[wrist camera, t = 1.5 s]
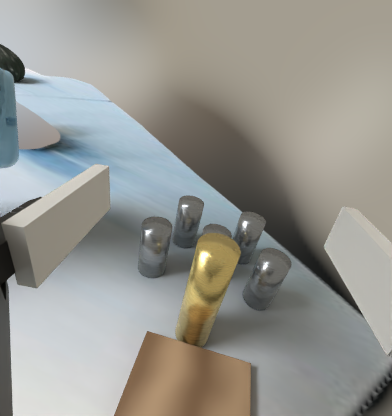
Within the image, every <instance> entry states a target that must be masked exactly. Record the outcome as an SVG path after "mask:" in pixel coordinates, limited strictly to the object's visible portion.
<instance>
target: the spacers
mask: <svg viewBox="0 0 392 416" xmlns="http://www.w3.org/2000/svg"><path fill="white" fill-rule="evenodd" d="M203 207H204V202H203V201H202V200H201V199H199V198H197V197H194V196H183V197H181V198H180V200H179V205H178V210H177V216H176V222H175V227H174V233H173V239H172V240H173V242H174V244H175V245H177V246H178V247H181V248H190V247H192V246H193V245H194V244H195V240H196V236H197V232H198V227H199V223H200V219H201V215H202V211H203ZM265 224H266V221H265V220H264V218H263V217H262V216H260V215H259V214H257V213H254V212H243V213H242V214H241V216H240V219H239V222H238V225H237V227H236V230H235V233H234V236H233V240H234V241H235V242H236V243H237V244H238V246H239V248H240V251H241V254H240V257H239V260H238V262H237V263H238V264H247V263H249V261H250V259H251V257H252V255H253V252H254V250H255V247H256V245H257V243H258V240H259V238H260V236H261V233H262V231H263V229H264V226H265ZM171 232H172V224H171V223H170V222H169V221H168V220H167V219H165V218H162V217H150V218H147V219H145V220H144V221H143V223H142V230H141V241H140V253H139V264H138V270H139V272H140V273H141V274H142V275H143V276H145V277H148V278H156V277H159V276H161V275H162V274H163V273H164V271H165V267H166V261H167V255H168V249H169V244H170V238H171ZM208 233H219V234H223V235H226V236H228V237H230V238H231V237H232V235H231V232H230V231H229V230H228V229H227V228H225V227H224V226H221V225H218V224H209V225H207V226H205V227H204V229H203V233H202V236H203V235H204V234H208ZM290 268H291V261H290V259H289V258H288V257H287V255H285V254H284V253H283V252H281V251H279V250H277V249H273V248H266V249H263V250H262V251H261V253H260V256H259V258H258V260H257V262H256V264H255V267H254V269H253V271H252V273H251V276H250V278H249V280H248V282H247V285H246V287H245V289H244V291H243V298H244V300H245V302H246V303H247V304H248V305H249V306H250V307H252V308H253V309H256V310H265V309H267V308H268V307H269V305H270V303H271V301H272V300H273V298H274V296H275V294H276V293H277V291H278V289H279V287H280V286H281V284H282V282H283V280H284V278H285V277H286V275H287V273H288V271H289V270H290Z"/></svg>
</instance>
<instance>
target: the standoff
mask: <svg viewBox="0 0 392 416" xmlns="http://www.w3.org/2000/svg"><path fill="white" fill-rule="evenodd" d="M240 254H241V251H240V248H239V246H238V244H237V243H236V242H235V241H234V240H233V239H231V238H230V237H228V236H226V235H223V234H219V233H208V234H204V235H203V236H201V237H200V238H199V240H198V243H197V247H196V250H195V254H194V258H193V262H192V266H191V270H190V274H189V278H188V282H187V286H186V290H185V294H184V298H183V302H182V306H181V310H180V314H179V318H178V322H177V326H176V330H175V334H176V338H177V340H178V341H181V342H184V343H187V344H190V345H194V346H197V347H200V348H201V347H203V346H204V345H205V343H206V342H207V339H208V337H209V334H210V331H211V329H212V326H213V324H214V321H215V319H216V316H217V314H218V311H219V308H220V306H221V303H222V301H223V298H224V296H225V293H226V291H227V288H228V285H229V283H230V280H231V278H232V275H233V273H234V270H235V267H236V265H237V262H238V260H239V257H240Z"/></svg>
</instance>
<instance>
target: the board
mask: <svg viewBox="0 0 392 416" xmlns="http://www.w3.org/2000/svg"><path fill="white" fill-rule="evenodd" d="M250 391H251V363H248V362H245V361H242V360H239V359H235V358H232V357H229V356H226V355H222V354H219V353H216V352H213V351H210V350H206V349H203V348H200V347H197V346H194V345H190V344H187V343H184V342H181V341H178V340H174V339H171V338H168V337H165V336H162V335H158V334H155V333H152V332H149V331H147V333H146V335H145V338H144V341H143V343H142V346H141V348H140V351H139V353H138V356H137V358H136V361H135V363H134V366H133V368H132V371H131V374H130V376H129V379H128V381H127V384H126V386H125V389H124V391H123V394H122V396H121V399H120V402H119V404H118V407H117V409H116V412H115V414H114V416H250Z"/></svg>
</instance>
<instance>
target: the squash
mask: <svg viewBox="0 0 392 416" xmlns="http://www.w3.org/2000/svg"><path fill="white" fill-rule="evenodd" d="M0 68H1V69H3V70H6V71H9V72H10V73H11V74H12V75H13V78H14V82H16V81H20V80H22V79H23V78H24V75H25V67H24V65H23V63H22V61H21V60H20V59H19V57H17V55H16V54H14V53H13V52H12V51H11V50H9V49H8V48H6V47H5V46H3V45H1V44H0Z"/></svg>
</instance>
